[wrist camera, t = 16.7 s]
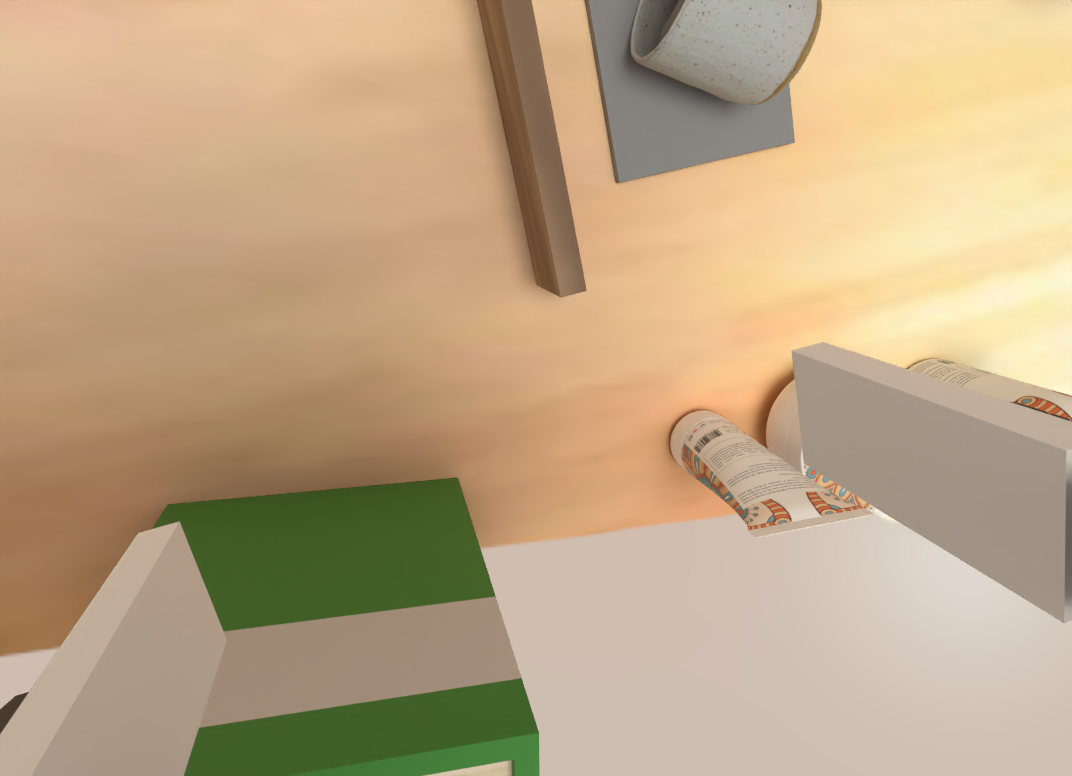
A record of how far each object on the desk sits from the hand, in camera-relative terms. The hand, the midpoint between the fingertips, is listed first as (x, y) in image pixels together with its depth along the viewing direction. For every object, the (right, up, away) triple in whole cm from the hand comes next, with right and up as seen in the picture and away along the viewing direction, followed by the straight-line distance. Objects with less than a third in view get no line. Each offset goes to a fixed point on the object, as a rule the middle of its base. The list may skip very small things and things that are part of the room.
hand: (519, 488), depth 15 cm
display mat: (+10, +23, +29) cm, 38 cm away
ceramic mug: (+10, +25, +28) cm, 39 cm away
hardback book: (-13, -8, +32) cm, 35 cm away
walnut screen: (-1, +18, +27) cm, 33 cm away
